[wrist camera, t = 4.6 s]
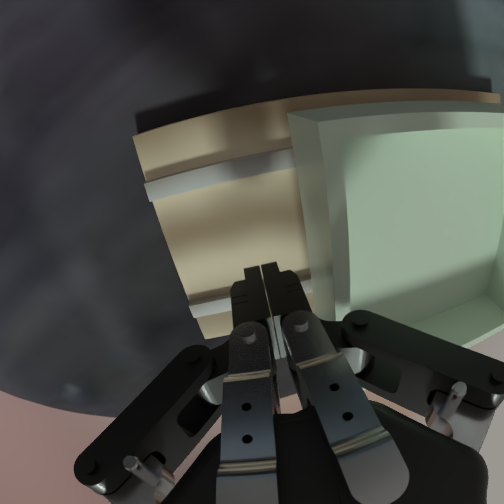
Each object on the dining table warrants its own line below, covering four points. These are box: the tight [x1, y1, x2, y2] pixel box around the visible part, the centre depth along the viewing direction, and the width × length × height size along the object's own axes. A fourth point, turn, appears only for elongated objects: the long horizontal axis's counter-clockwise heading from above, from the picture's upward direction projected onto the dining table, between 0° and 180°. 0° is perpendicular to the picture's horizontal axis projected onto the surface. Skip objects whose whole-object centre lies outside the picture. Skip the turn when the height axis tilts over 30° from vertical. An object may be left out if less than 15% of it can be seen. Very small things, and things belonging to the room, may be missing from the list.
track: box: [133, 88, 501, 339], centre depth 17 cm, size 14×24×2 cm, turn 101°
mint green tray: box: [287, 101, 504, 391], centre depth 14 cm, size 13×13×6 cm
